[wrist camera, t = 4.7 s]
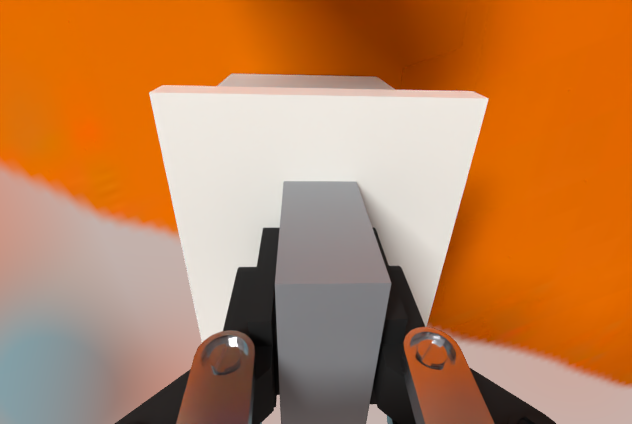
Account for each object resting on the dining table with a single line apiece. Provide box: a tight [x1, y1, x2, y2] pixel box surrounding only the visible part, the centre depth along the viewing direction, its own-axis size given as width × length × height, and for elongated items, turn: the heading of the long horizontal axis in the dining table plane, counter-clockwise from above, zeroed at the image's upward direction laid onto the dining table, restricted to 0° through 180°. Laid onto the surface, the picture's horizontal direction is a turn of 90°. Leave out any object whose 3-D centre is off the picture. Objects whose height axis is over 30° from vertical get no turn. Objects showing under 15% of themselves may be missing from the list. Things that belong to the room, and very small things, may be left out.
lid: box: [149, 85, 489, 424], centre depth 11 cm, size 11×9×6 cm
